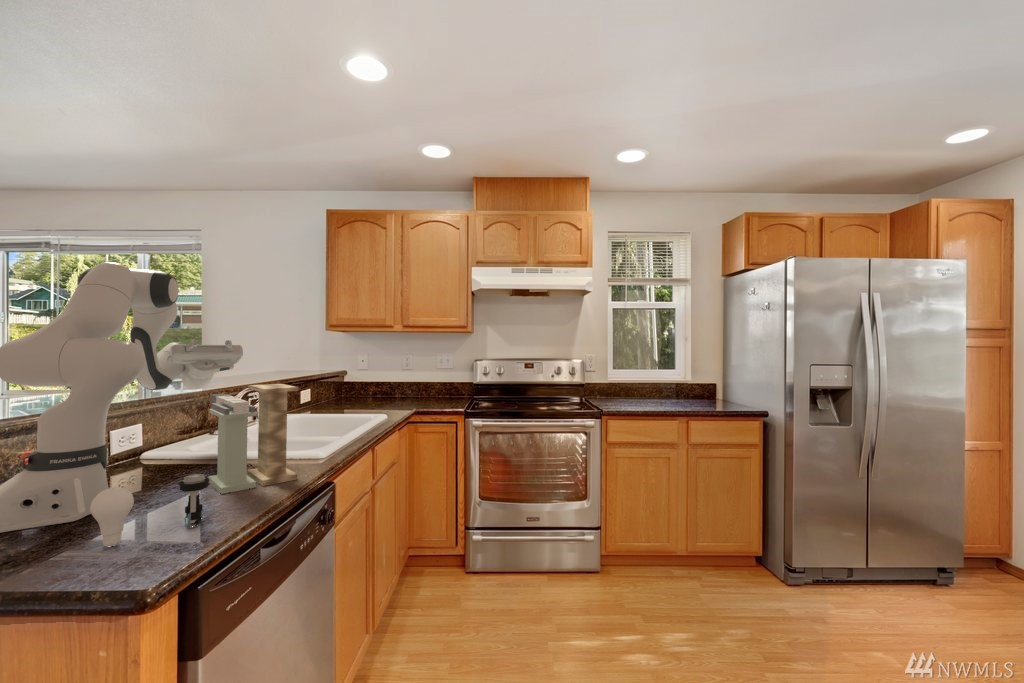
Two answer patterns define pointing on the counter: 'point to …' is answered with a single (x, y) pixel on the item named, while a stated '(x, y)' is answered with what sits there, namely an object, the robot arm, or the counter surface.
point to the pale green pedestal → (231, 450)
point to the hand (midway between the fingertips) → (212, 341)
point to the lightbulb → (112, 512)
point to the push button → (193, 497)
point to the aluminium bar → (230, 403)
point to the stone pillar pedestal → (272, 435)
